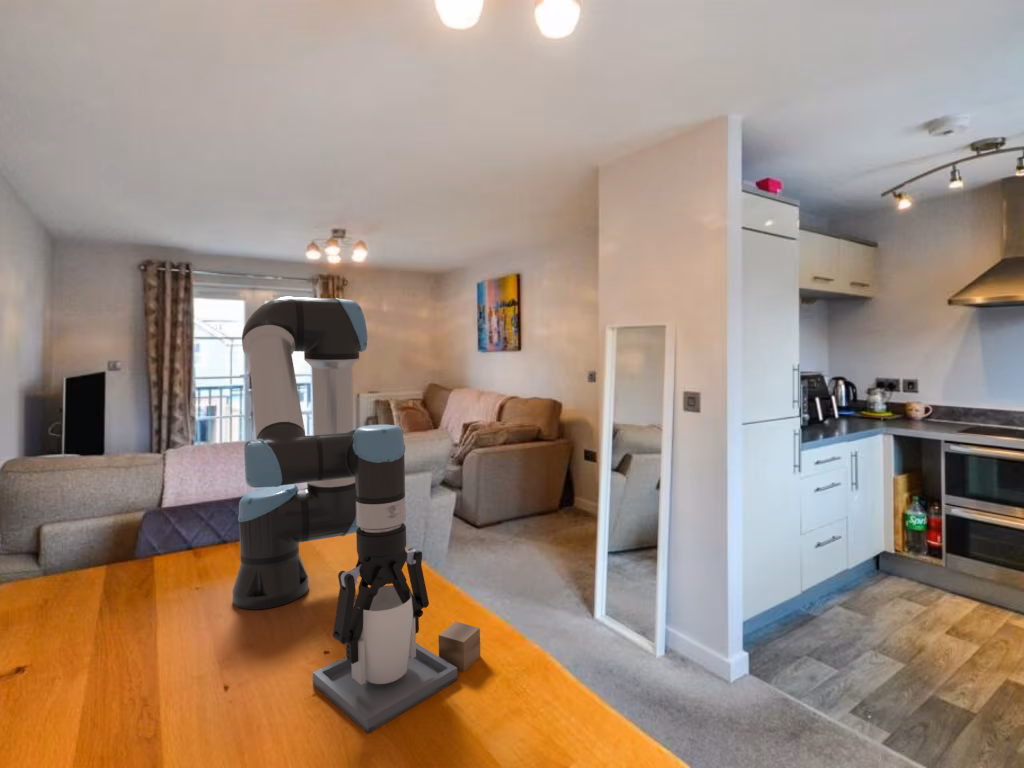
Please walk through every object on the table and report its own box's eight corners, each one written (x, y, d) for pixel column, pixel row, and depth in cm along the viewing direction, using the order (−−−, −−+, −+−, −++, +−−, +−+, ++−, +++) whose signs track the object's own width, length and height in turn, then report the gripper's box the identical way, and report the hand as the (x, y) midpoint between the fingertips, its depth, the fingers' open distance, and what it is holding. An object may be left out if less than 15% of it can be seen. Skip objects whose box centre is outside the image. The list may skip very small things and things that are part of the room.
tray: (313, 684, 82) (312, 672, 82) (398, 643, 94) (398, 632, 93) (367, 733, 71) (367, 719, 71) (457, 680, 83) (457, 667, 82)
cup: (400, 693, 77) (398, 613, 76) (344, 686, 79) (341, 608, 78) (423, 658, 86) (421, 586, 85) (372, 653, 88) (370, 583, 87)
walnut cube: (439, 664, 87) (438, 634, 87) (456, 649, 92) (455, 621, 91) (464, 672, 85) (463, 642, 85) (480, 656, 89) (479, 628, 89)
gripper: (328, 549, 71) (333, 711, 72) (449, 514, 86) (452, 647, 87) (303, 537, 76) (308, 688, 77) (422, 506, 91) (424, 632, 92)
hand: (385, 666), depth 82 cm, fingers closed on cup, 8 cm apart
